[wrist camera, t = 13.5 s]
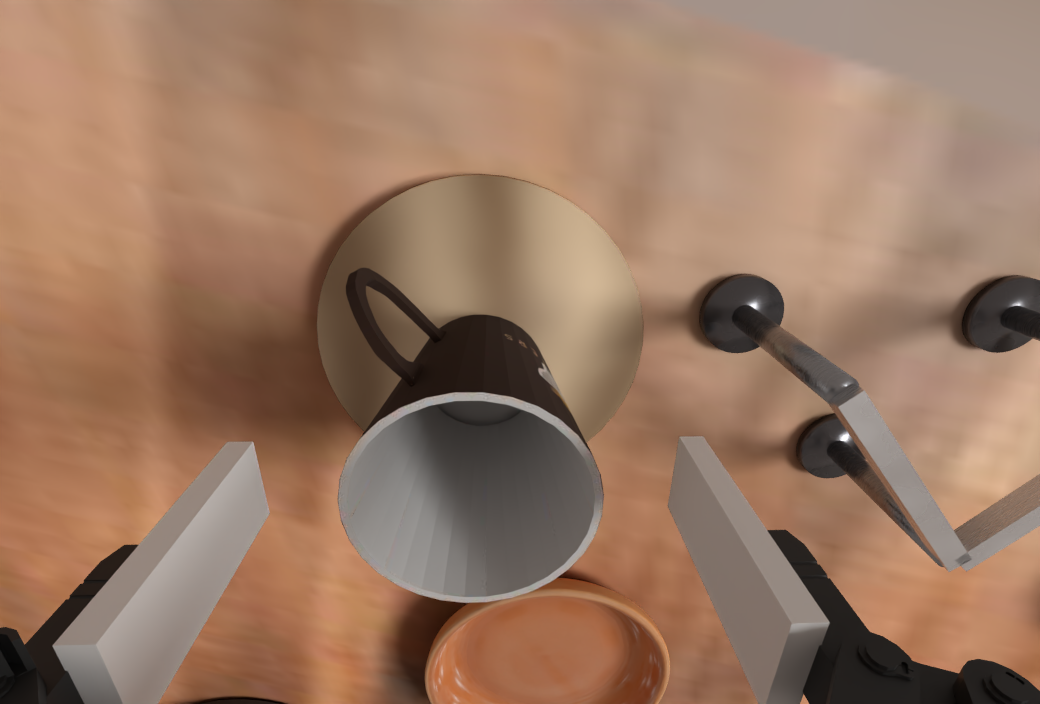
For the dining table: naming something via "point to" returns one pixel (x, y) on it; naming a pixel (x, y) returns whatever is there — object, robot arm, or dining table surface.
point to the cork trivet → (487, 289)
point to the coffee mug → (467, 462)
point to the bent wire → (861, 430)
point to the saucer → (549, 650)
